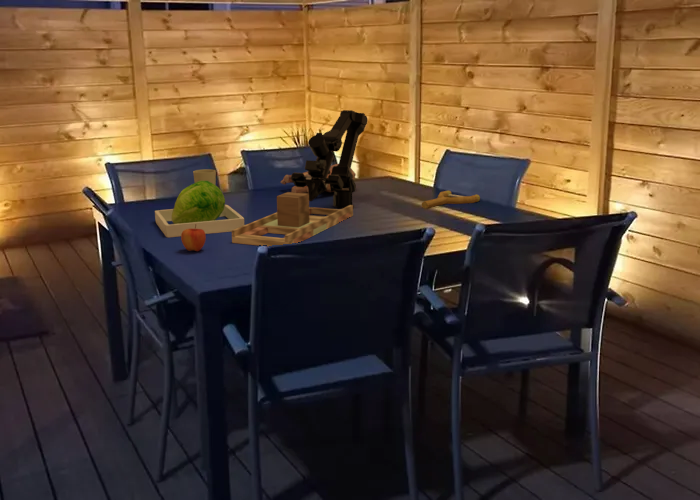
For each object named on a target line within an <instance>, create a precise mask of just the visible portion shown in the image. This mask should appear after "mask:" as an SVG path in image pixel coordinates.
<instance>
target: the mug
mask: <svg viewBox="0 0 700 500" xmlns="http://www.w3.org/2000/svg"><path fill="white" fill-rule="evenodd" d="M192 173H193V180H194V181H193V182H194V183H196V182H199V181H209V182H211V183H212V184H214V185H216V181H217V179H216V177H217V176H216V175H217V174H216V169H209V168H208V169H196V170H193V171H192ZM216 186H217V185H216Z"/></svg>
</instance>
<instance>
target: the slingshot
mask: <svg viewBox="0 0 700 500" xmlns="http://www.w3.org/2000/svg"><path fill="white" fill-rule="evenodd" d="M480 200H481V197H480V195H479V194H473V195H471V196H470V195H467V196H465V195H457V194H452V191H451V190H445V191H444V190H443V191H440V192H439V194H438V195H437V198H434V199H429V200H424V201H422V202H421V207H422V208H423V209H431V208H434V207H438V206H439V207H440V206H442V205H450V204H451V205H453V204H454V205H462V204H463V205H464V204H475V203H477V202H480Z"/></svg>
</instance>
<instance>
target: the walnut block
mask: <svg viewBox="0 0 700 500" xmlns="http://www.w3.org/2000/svg"><path fill="white" fill-rule="evenodd" d="M309 207H310V201H309V193H308V192H306V193H293V192H292V191H287V192H284V193H282V194H279V195H277V196H276V212H277V219H278V226H289V227H301V226H303V225H305V224H307V223H309V222H310V219H309Z"/></svg>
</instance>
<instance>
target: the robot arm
mask: <svg viewBox="0 0 700 500" xmlns="http://www.w3.org/2000/svg"><path fill="white" fill-rule="evenodd" d="M367 124H368V116H367V115H366V114H365V112H357V111H354V110H350V109H349V110H348V109H347V110H346V109H344V110H341V111H340V113H339V116H338V118H337V119H336V121H335V122H334V124H333V126H332V128H331V129H330V130H328V131H326V132H324V133H322V132H316V134H315V135H313V136H312V137H310V138H308V142H307V144H308V146H309V148H310V150H311V152H312V154H313V155H314V157H316V160H311V159H310V160H309V159H307V160H305V165H304V170H305V171H306V172H308V174H309V175H310V176H306V177H305V176H304V174H303V173H304V172H292V174H290V175H291V180H292V181H293V184H294V186H296V187H305V186H307V187H308V192H309V193H308V192H307V193H308V194H309V202H313V201H314V200H315V199H316V198H317V197H318V196H320V195H321V194H322V193H324V192H327V185H328V184H330V188H331V191H334V192H333V195H332V201H333V202H332V203H333V204H332V206H333V207H335V208H336V209H343V208H345V207H347V206H349V205H353V193H355V192H356V189H357V184H356V182H355V179H354V180H353V174H352V172H351V169H352V164H353V161H354V160H353V159H354V156H355V152H356V148H357V144H358V140H359V136H360V135H361V134H362V133H363V132H365V129H366V126H367ZM345 133H346V134H345ZM344 135H345V137H344V142H343V141H342V139H343V136H344ZM341 148H342V150H341V153H340V156H339V161H338V163H337V164H338V165H337V166H334V167H333V168H332V173H331V175H329V176H328V178H327V175H328V174H330V167H331V166H332V165H333V164H332V163H334V162H336V159H335V155H334V153H333V152H339V151H340V149H341ZM353 208H355V206H354V205H353Z"/></svg>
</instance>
